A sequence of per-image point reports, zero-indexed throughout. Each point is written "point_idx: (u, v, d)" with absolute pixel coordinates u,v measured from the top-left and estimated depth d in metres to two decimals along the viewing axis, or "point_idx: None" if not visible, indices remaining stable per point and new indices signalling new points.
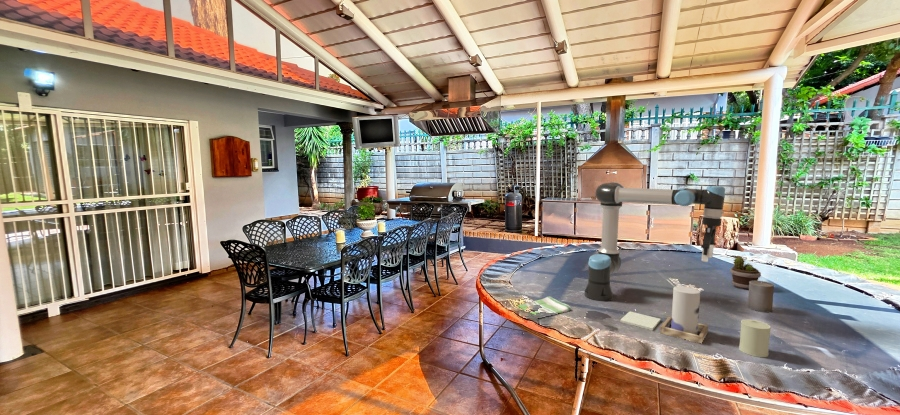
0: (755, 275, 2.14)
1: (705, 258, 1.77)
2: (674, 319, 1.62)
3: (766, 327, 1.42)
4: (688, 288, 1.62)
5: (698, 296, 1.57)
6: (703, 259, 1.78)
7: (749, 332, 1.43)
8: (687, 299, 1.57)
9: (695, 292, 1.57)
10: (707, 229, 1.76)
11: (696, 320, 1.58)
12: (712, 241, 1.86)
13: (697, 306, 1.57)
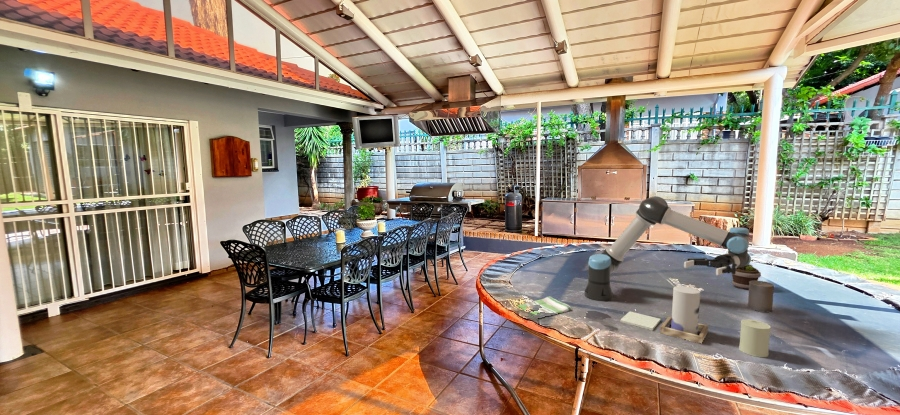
0: (755, 275, 2.14)
1: (720, 272, 1.59)
2: (674, 319, 1.62)
3: (766, 327, 1.42)
4: (688, 288, 1.62)
5: (698, 296, 1.57)
6: (719, 270, 1.59)
7: (749, 332, 1.43)
8: (687, 299, 1.57)
9: (695, 292, 1.57)
10: (736, 266, 1.66)
11: (696, 320, 1.58)
12: (697, 264, 1.74)
13: (697, 306, 1.57)
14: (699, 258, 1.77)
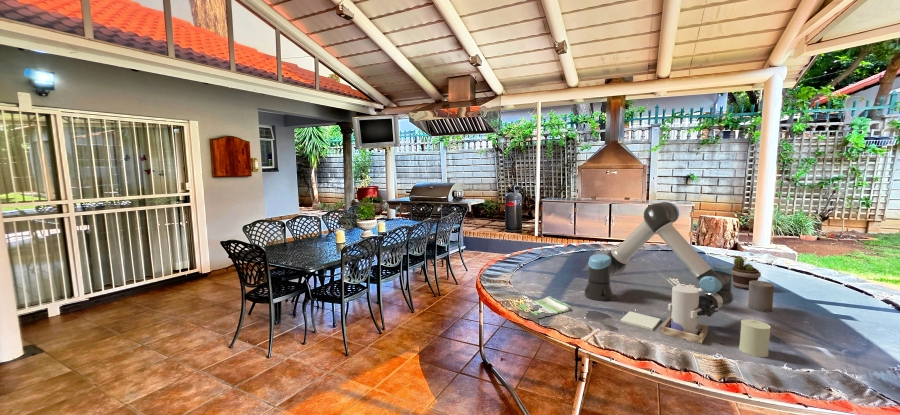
0: (755, 275, 2.14)
1: (695, 314, 1.56)
2: (674, 319, 1.62)
3: (766, 327, 1.42)
4: (687, 288, 1.62)
5: (697, 295, 1.57)
6: (693, 313, 1.56)
7: (749, 332, 1.43)
8: (685, 299, 1.57)
9: (694, 291, 1.57)
10: (717, 308, 1.61)
11: (695, 319, 1.58)
12: None
13: (696, 305, 1.57)
14: None
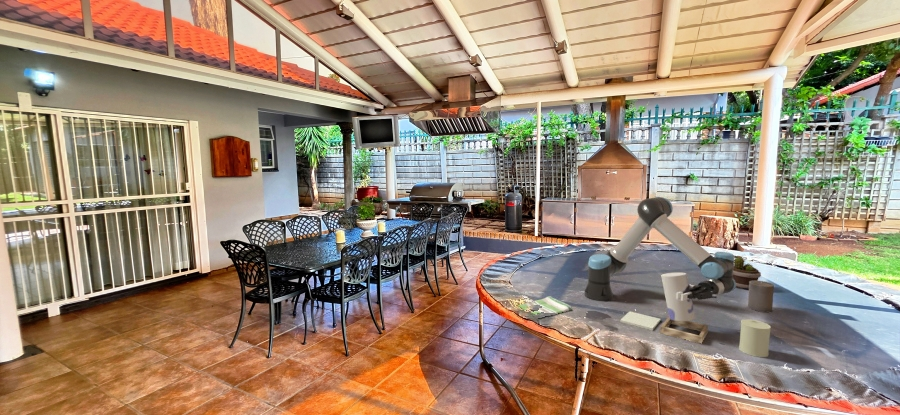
0: (755, 275, 2.14)
1: (685, 297, 1.58)
2: (667, 305, 1.67)
3: (766, 327, 1.42)
4: (676, 273, 1.67)
5: (681, 278, 1.61)
6: (684, 296, 1.58)
7: (749, 332, 1.43)
8: (669, 282, 1.63)
9: (677, 275, 1.62)
10: (715, 294, 1.60)
11: (685, 303, 1.60)
12: None
13: (683, 288, 1.61)
14: None
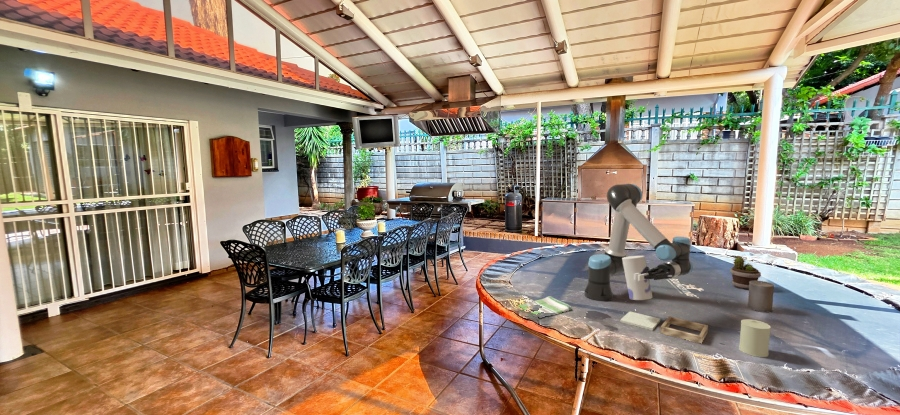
0: (755, 275, 2.14)
1: (641, 278, 1.70)
2: (627, 285, 1.78)
3: (766, 327, 1.42)
4: (636, 256, 1.78)
5: (639, 260, 1.73)
6: (640, 276, 1.69)
7: (749, 332, 1.43)
8: (628, 264, 1.75)
9: (636, 257, 1.74)
10: (670, 275, 1.72)
11: (643, 283, 1.72)
12: None
13: (640, 270, 1.72)
14: None
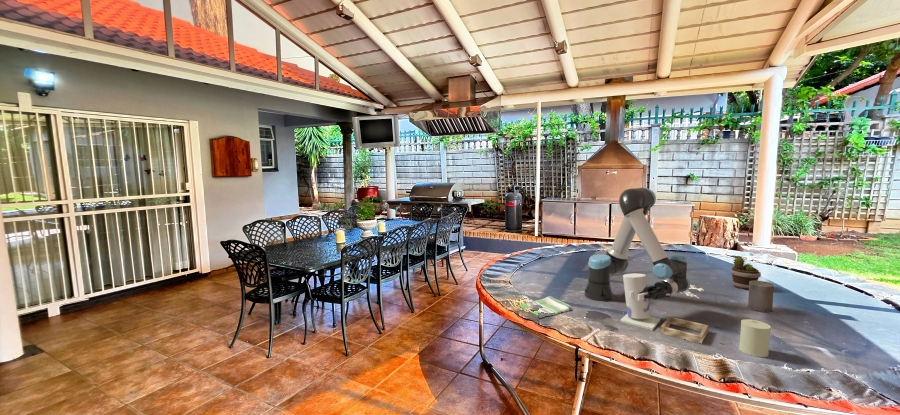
0: (755, 275, 2.14)
1: (641, 297, 1.70)
2: (626, 303, 1.79)
3: (766, 327, 1.42)
4: (637, 274, 1.78)
5: (640, 280, 1.73)
6: (640, 296, 1.70)
7: (749, 332, 1.43)
8: (629, 283, 1.75)
9: (637, 276, 1.74)
10: (668, 293, 1.73)
11: (642, 302, 1.72)
12: None
13: (640, 289, 1.73)
14: None
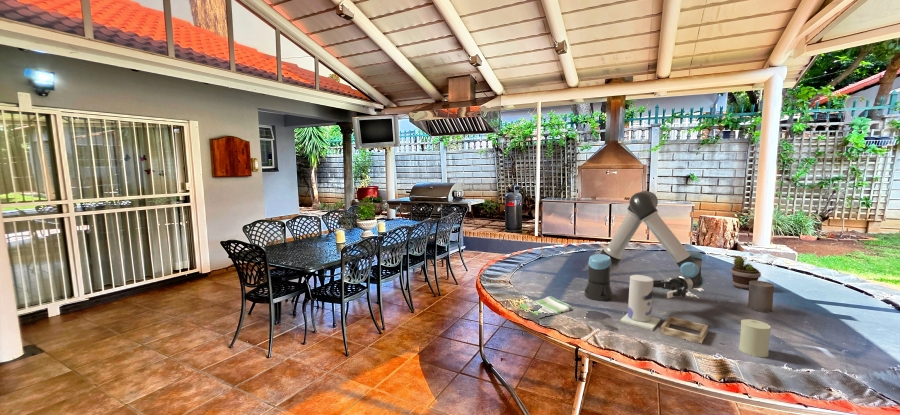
0: (755, 275, 2.14)
1: (670, 295, 1.73)
2: (628, 303, 1.78)
3: (766, 327, 1.42)
4: (644, 277, 1.75)
5: (647, 284, 1.70)
6: (669, 294, 1.72)
7: (749, 332, 1.43)
8: (635, 285, 1.72)
9: (645, 280, 1.71)
10: (687, 288, 1.79)
11: (645, 306, 1.71)
12: (653, 286, 1.87)
13: (646, 293, 1.71)
14: (656, 280, 1.91)
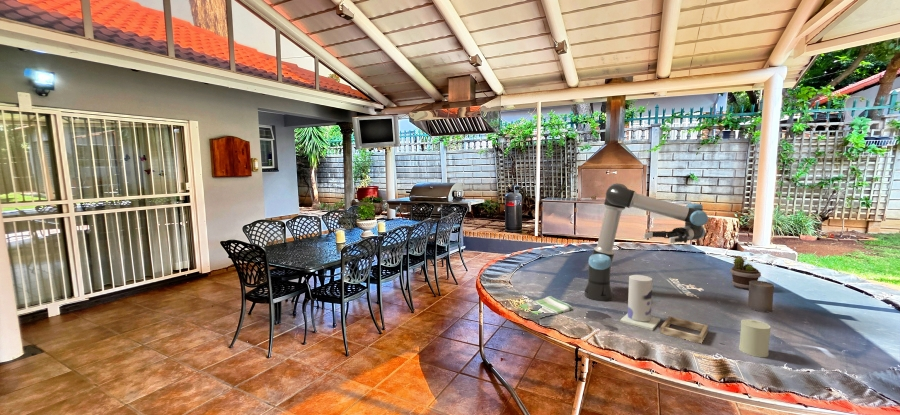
0: (755, 275, 2.14)
1: (672, 240, 1.78)
2: (628, 303, 1.78)
3: (766, 327, 1.42)
4: (643, 277, 1.76)
5: (646, 284, 1.71)
6: (671, 239, 1.78)
7: (749, 332, 1.43)
8: (635, 285, 1.73)
9: (644, 280, 1.71)
10: (689, 236, 1.85)
11: (645, 306, 1.72)
12: (656, 236, 1.93)
13: (645, 293, 1.71)
14: (658, 231, 1.96)
